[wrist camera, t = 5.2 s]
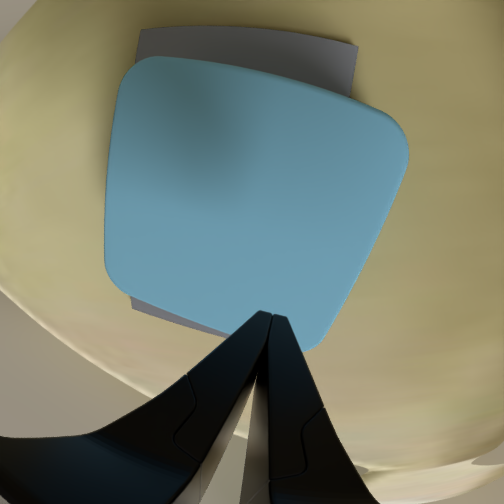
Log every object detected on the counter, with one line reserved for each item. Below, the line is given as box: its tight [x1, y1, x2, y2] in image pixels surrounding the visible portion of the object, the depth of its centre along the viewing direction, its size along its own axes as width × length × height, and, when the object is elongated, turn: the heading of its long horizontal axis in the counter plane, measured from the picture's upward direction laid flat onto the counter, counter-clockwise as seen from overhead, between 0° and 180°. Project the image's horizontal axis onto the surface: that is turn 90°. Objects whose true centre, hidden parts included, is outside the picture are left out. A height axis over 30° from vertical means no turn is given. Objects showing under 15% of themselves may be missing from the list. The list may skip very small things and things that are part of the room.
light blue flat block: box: [104, 56, 409, 352], centre depth 14 cm, size 12×4×12 cm
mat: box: [131, 26, 358, 338], centre depth 16 cm, size 12×20×1 cm, turn 171°
